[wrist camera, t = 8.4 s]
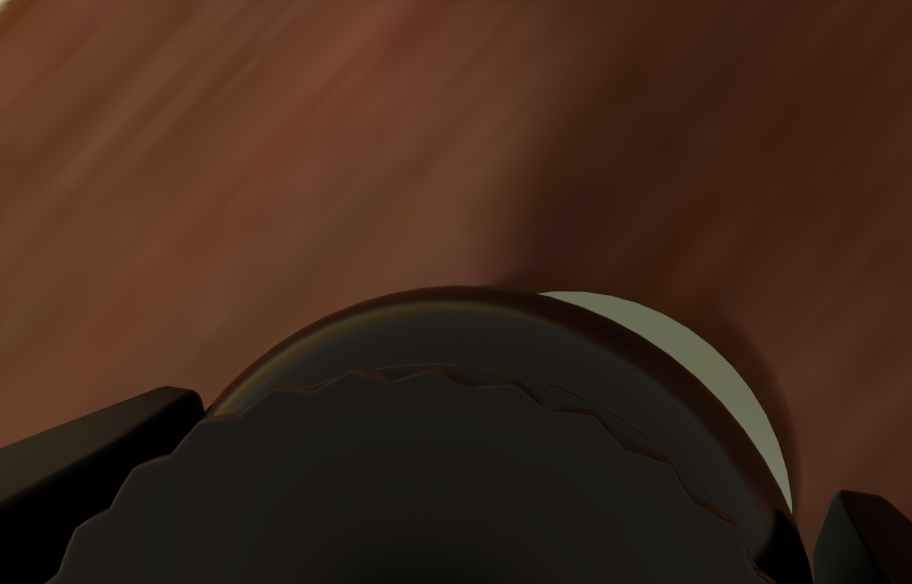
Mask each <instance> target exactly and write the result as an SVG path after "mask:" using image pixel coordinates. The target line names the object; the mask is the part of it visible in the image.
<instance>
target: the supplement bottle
mask: <svg viewBox="0 0 912 584" xmlns="http://www.w3.org/2000/svg"><path fill="white" fill-rule="evenodd" d="M43 584H814V582H813V578H812V573H811V569H810V565H809V561H808V558H807V555H806V552H805V548H804V545H803V542H802V539H801V536H800V533H799V530H798V527H797V525H796V522H795V520H794V518H793V515H792V513H791V511H790V508H789V506H788V504H787V502H786V499H785V497H784V495H783V492H782V490H781V488H780V486H779V485H778V483H777V481H776V479H775V477H774V476H773V474H772V472H771V470H770V468H769V467H768V465H767V463H766V461H765V459H764V458H763V456H762V455H761V453H760V452H759V450H758V449H757V447H756V446H755V444H754V443H753V442H752V440H751V439H750V437H749V436H748V434H747V433H746V431H745V430H744V428H743V427H742V426H741V425H740V424H739V422H738V421H737V420H736V419H735V418H734V416H733V415H732V414H731V413H730V412H729V410H728V409H727V408H726V407H725V406H724V404H723V403H722V402H721V401H720V400H719V399H718V398H717V397H716V396H715V395H714V394H713V393H712V392H711V391H710V390H709V389H708V388H707V387H706V386H705V385H704V384H703V383H702V382H701V381H700V380H699V379H698V378H697V377H696V376H695V375H694V374H692V373H691V372H690V371H689V370H688V369H686V368H685V367H684V366H683V365H681V364H680V363H679V362H678V361H677V360H675V359H674V358H673V357H672V356H671V355H669V354H668V353H666V352H665V351H663V350H662V349H660V348H659V347H657V346H656V345H655V344H653V343H652V342H650V341H649V340H647V339H646V338H644V337H643V336H641V335H639V334H638V333H636V332H634V331H632V330H630V329H628V328H627V327H625V326H623V325H621V324H619V323H617V322H616V321H614V320H612V319H610V318H607V317H605V316H603V315H600V314H598V313H595V312H593V311H591V310H588V309H586V308H584V307H581V306H578V305H575V304H572V303H569V302H566V301H563V300H560V299H556V298H553V297H550V296H546V295H541V294H536V293H532V292H527V291H522V290H517V289H508V288H500V287H491V286H459V285H453V286H441V287H428V288H419V289H414V290H408V291H403V292H397V293H392V294H388V295H384V296H381V297H377V298H374V299H370V300H367V301H363V302H360V303H357V304H355V305H352V306H350V307H347V308H345V309H342V310H339V311H337V312H334V313H332V314H330V315H328V316H326V317H324V318H322V319H320V320H318V321H316V322H314V323H312V324H310V325H308V326H306V327H304V328H302V329H301V330H299V331H298V332H296V333H294V334H293V335H291V336H290V337H288V338H287V339H285V340H283V341H282V342H280V343H279V344H277V345H276V346H274V347H273V348H271V349H270V350H269V351H268V352H266V353H265V354H264V355H262V356H261V357H260V358H259V359H257V360H256V361H255V362H253V363H252V364H251V365H250V366H248V367H247V368H246V369H245V370H244V371H243V372H242V373H241V374H240V375H239V376H238V377H237V378H236V379H235V380H234V381H233V382H231V383H230V384H229V385H228V386H227V387H226V388H225V389H224V390H223V392H222V393H221V394H220V395H219V396H218V397H217V398H216V400H215V401H214V402H213V403H212V404H211V405H210V406H209V408H208V409H207V410H206V411H205V412H204V413H203V415H202V416H201V418H200V419H199V420H198V422H197V423H196V424H195V426H194V427H193V429H192V430H191V431H190V432H189V433H188V434H187V435H186V436H185V437H184V438H183V440H182V441H181V442H180V444H179V445H178V446H177V448H176V449H175V450H174V451H173V453H172V454H166V455H162V456H159V457H157V458H154V459H151V460H149V461H146V462H143V463H141V464H139V465H137V466H136V467H134V468H133V469H132V470H131V472H130V474H129V475H128V477H127V478H126V480H125V481H124V483H123V484H122V486H121V487H120V489H119V491H118V493H117V495H116V497H115V499H114V501H113V503H112V505H111V507H110V508H109V509H106V510H103V511H101V512H99V513H97V514H96V515H94V516H93V517H91V518H90V519H88V520H87V521H85V522H83V523H82V524H80V525H79V526H78V527H76V528H75V530H74V532H73V534H72V537H71V539H70V541H69V544H68V546H67V548H66V551H65V554H64V557H63V560H62V563H61V567H60V570H59V572H58V573H57V574H56V575H55V576H54V577H52V578H51V579H49V580H48V581H46V582H45V583H43Z"/></svg>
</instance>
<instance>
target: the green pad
mask: <svg viewBox="0 0 912 584" xmlns="http://www.w3.org/2000/svg"><path fill="white" fill-rule="evenodd" d="M538 294H541V295H546V296H550V297H553V298H556V299H560V300H563V301H566V302H569V303H572V304H575V305H578V306H581V307H584V308H586V309H588V310H591V311H593V312H595V313H598V314H600V315H603V316H605V317H607V318H610V319H612V320H614V321H616V322H617V323H619V324H621V325H623V326H625V327H627V328H628V329H630V330H632V331H634V332H636V333H638V334H639V335H641V336H643V337H644V338H646V339H647V340H649V341H650V342H652V343H653V344H655V345H656V346H657V347H659V348H660V349H662V350H663V351H665V352H666V353H668V354H669V355H671V356H672V357H673V358H674V359H675V360H677V361H678V362H679V363H680V364H681V365H683V366H684V367H685V368H686V369H688V370H689V371H690V372H691V373H692V374H694V375H695V376H696V377H697V378H698V379H699V380H700V381H701V382H702V383H703V384H704V385H705V386H706V387H707V388H708V389H709V390H710V391H711V392H712V393H713V394H714V395H715V396H716V397H717V398H718V399H719V400H720V401H721V402H722V403H723V404H724V406H725V407H726V408H727V409H728V410H729V412H730V413H731V414H732V415H733V416H734V418H735V419H736V420H737V421H738V422H739V424H740V425H741V426H742V427H743V428H744V430H745V431H746V433H747V434H748V436H749V437H750V439H751V440H752V442H753V443H754V444H755V446H756V447H757V449H758V450H759V452H760V453H761V455H762V456H763V458H764V459H765V461H766V463H767V465H768V467H769V468H770V470H771V472H772V474H773V476H774V477H775V479H776V481H777V483H778V485H779V486H780V488H781V490H782V492H783V495H784V497H785V499H786V502H787V504H788V506H789V508H790V511H791V513H792V500H791V494H790V487H789V481H788V475H787V470H786V467H785V463H784V460H783V457H782V453H781V450H780V447H779V443H778V441H777V438H776V436H775V434H774V432H773V429H772V427H771V425H770V423H769V420H768V418H767V416H766V414H765V412H764V411H763V409H762V407H761V406H760V404H759V402H758V401H757V399H756V398H755V396H754V394H753V393H752V391H751V389H750V388H749V387H748V385H747V384H746V383H745V382H744V380H743V379H742V378H741V377H740V375H739V374H738V373H737V372H736V370H735V369H734V368H733V367H732V366H731V365H730V364H729V363H728V362H727V361H726V360H725V359H724V358H723V357H722V356H721V355H720V354H719V353H718V352H717V351H716V350H715V349H714V348H713V347H712V346H711V345H710V344H708V343H707V342H706V341H704V340H703V339H702V338H700V337H699V336H698V335H696V334H695V333H694V332H692V331H691V330H690V329H688V328H687V327H685V326H683V325H681V324H680V323H678V322H676V321H674V320H673V319H671V318H669V317H668V316H666V315H664V314H662V313H660V312H657V311H655V310H652V309H650V308H648V307H645V306H643V305H640V304H638V303H635V302H631V301H628V300H624V299H620V298H617V297H613V296H609V295H602V294H595V293H588V292H558V291H556V292H547V293H538Z"/></svg>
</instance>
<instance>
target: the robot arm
mask: <svg viewBox="0 0 912 584" xmlns="http://www.w3.org/2000/svg"><path fill="white" fill-rule="evenodd" d="M204 412H205V411H204V407H203V403H202V399H201V397H200V396H199V394H198V393H197V392H195V391H194V390H190V389H183V388H177V387H170V386H164V387H159V388H157V389H154V390H151V391H149V392H146V393H143V394H141V395H138V396H136V397H133V398H130V399H128V400H125V401H122V402H120V403H117V404H115V405H112V406H109V407H107V408H104V409H102V410H99V411H96V412H94V413H91V414H88V415H86V416H83V417H81V418H78V419H75V420H73V421H70V422H67V423H65V424H62V425H60V426H57V427H54V428H52V429H49V430H47V431H44V432H41V433H39V434H36V435H33V436H31V437H28V438H26V439H23V440H20V441H18V442H15V443H12V444H10V445H7V446H5V447H2V448H0V584H43V583H45V582H46V581H48V580H49V579H51V578H52V577H54V576H55V575H56V574H57V573H58V572H59V570H60V567H61V563H62V560H63V557H64V554H65V551H66V548H67V546H68V544H69V541H70V539H71V537H72V534H73V532H74V530H75V528H76V527H78V526H79V525H80V524H82V523H83V522H85V521H87V520H88V519H90V518H91V517H93V516H94V515H96V514H97V513H99V512H101V511H103V510H106V509H109V508H110V507H111V505H112V503H113V501H114V499H115V497H116V495H117V493H118V491H119V489H120V487H121V486H122V484H123V483H124V481H125V480H126V478H127V477H128V475H129V474H130V472H131V470H132V469H133V468H134V467H136V466H137V465H139V464H141V463H143V462H146V461H149V460H151V459H154V458H157V457H159V456H162V455H166V454H172V453H173V451H174V450H175V449H176V448H177V446H178V445H179V444H180V442H181V441H182V440H183V438H184V437H185V436H186V435H187V434H188V433H189V432H190V431H191V430H192V429H193V427H194V426H195V424H196V423H197V422H198V420H199V419H200V418H201V416H202V415H203V413H204ZM813 579H814V584H912V522H911V521H910V520H909V519H908V518H907V517H906V516H905V515H903V514H902V513H901V512H900V511H899V510H898V509H897V508H895V507H894V506H893V505H892V504H891V503H890V502H889V501H887V500H886V499H884V498H883V497H881V496H879V495H875V494H868V493H862V492H855V491H849V490H841V491H839V492H837V493H836V494H835V495H834V497H833V498H832V500H831V503H830V505H829V508H828V511H827V513H826V516H825V518H824V521H823V524H822V526H821V529H820V531H819V534H818V537H817V539H816V542H815V546H814V551H813Z"/></svg>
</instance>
